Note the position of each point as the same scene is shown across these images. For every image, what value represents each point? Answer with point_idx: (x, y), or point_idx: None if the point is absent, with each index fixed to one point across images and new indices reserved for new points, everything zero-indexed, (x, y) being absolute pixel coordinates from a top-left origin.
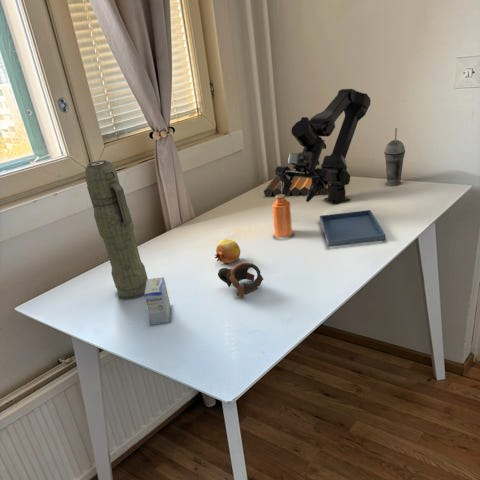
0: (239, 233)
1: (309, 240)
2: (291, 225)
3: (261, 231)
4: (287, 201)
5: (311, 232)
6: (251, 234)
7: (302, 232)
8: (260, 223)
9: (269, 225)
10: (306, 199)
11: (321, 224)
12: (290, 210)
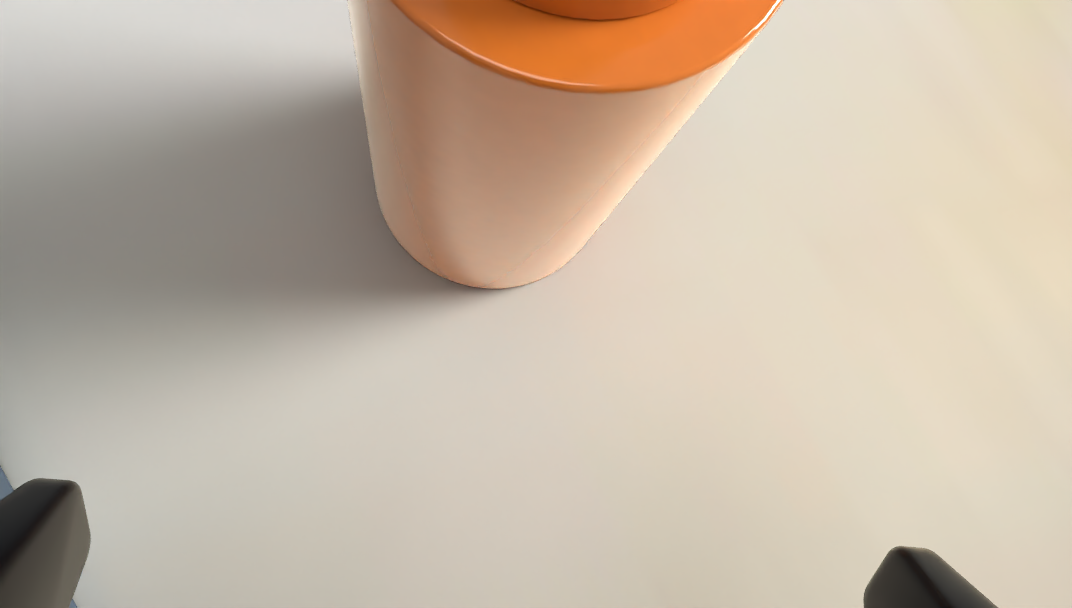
0: (1049, 140)
1: (81, 120)
2: (369, 143)
3: (843, 250)
4: (481, 35)
5: (159, 374)
6: (902, 142)
7: (293, 344)
8: (1010, 489)
9: (859, 457)
10: (44, 495)
11: None
12: (353, 24)
